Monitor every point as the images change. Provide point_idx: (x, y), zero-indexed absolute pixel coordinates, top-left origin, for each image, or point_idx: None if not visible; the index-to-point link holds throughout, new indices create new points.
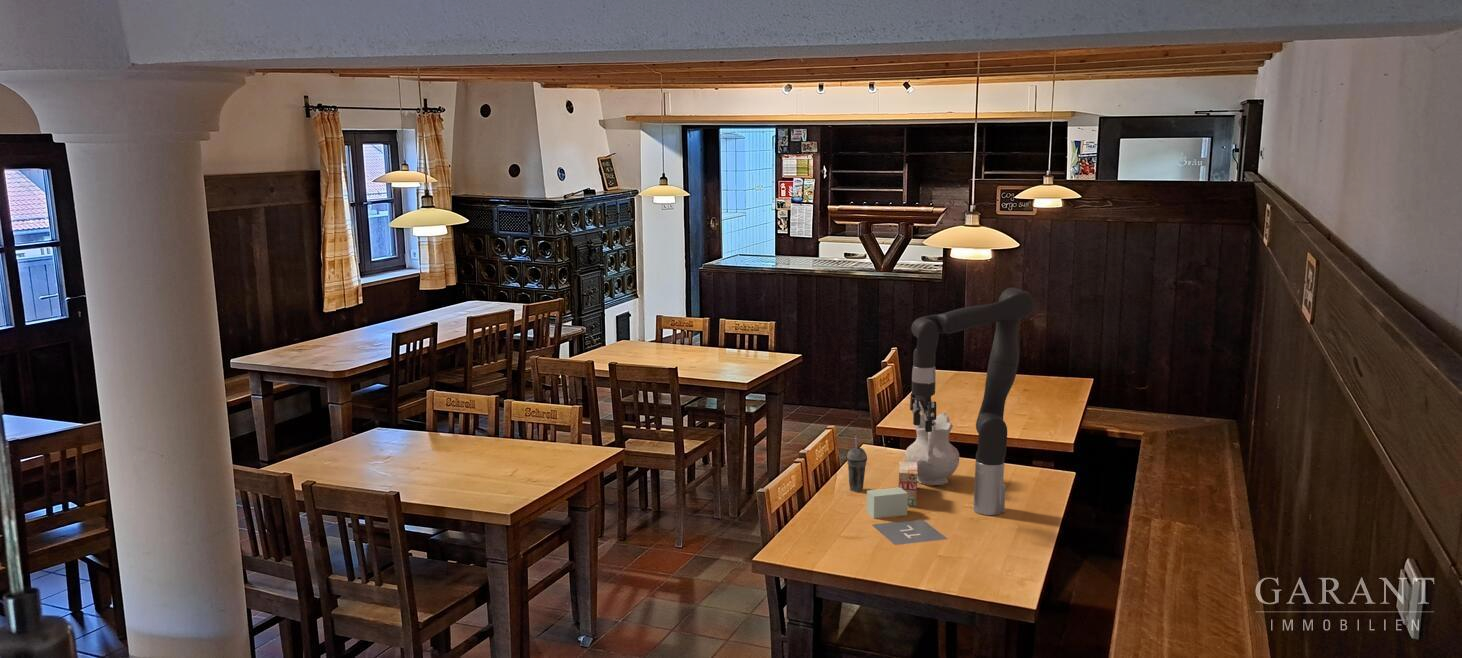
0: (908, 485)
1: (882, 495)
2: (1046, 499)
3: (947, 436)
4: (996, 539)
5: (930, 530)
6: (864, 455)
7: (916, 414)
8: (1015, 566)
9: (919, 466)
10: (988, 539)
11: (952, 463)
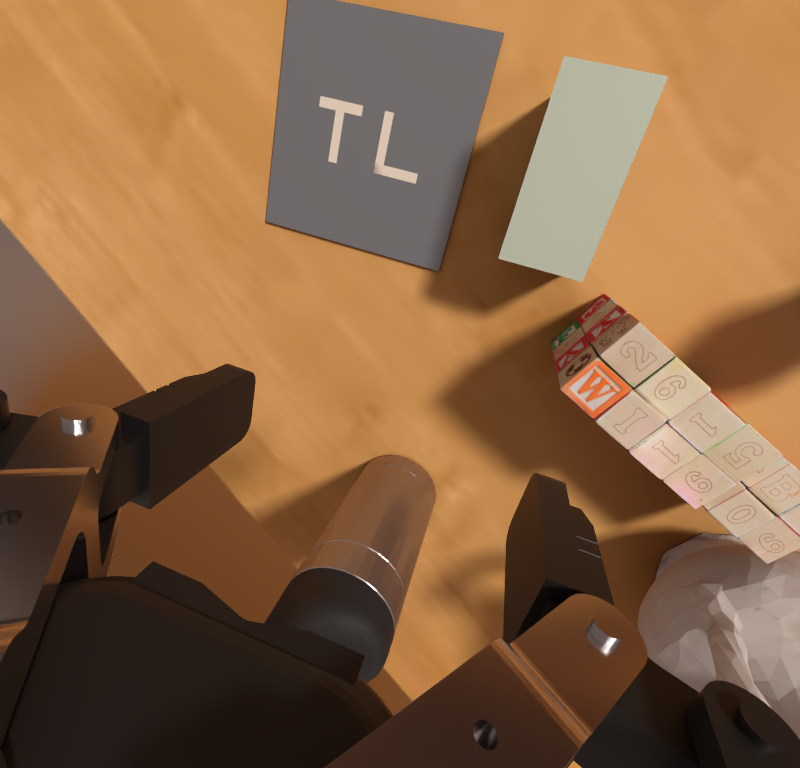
0: (584, 341)
1: (547, 113)
2: None
3: None
4: (226, 346)
5: (344, 221)
6: None
7: (530, 607)
8: (78, 251)
9: (746, 561)
10: (233, 329)
11: None
